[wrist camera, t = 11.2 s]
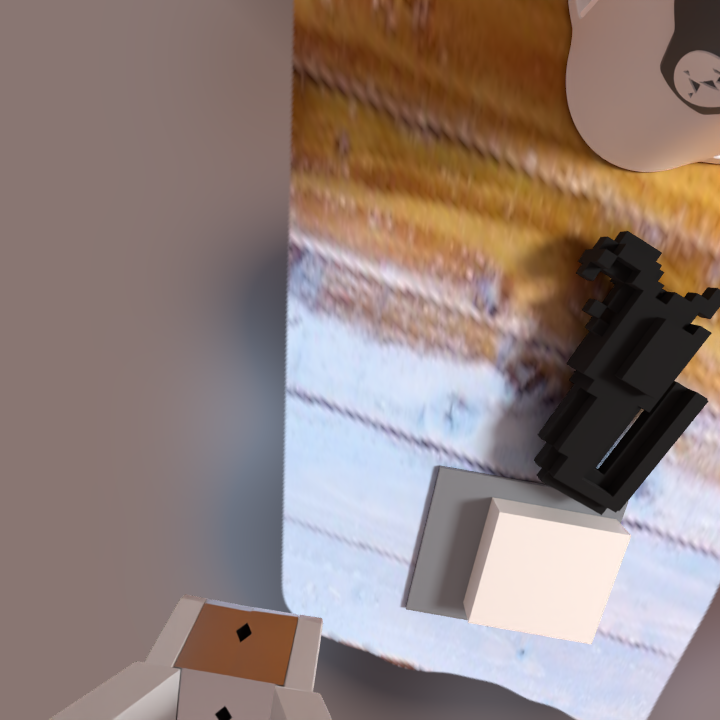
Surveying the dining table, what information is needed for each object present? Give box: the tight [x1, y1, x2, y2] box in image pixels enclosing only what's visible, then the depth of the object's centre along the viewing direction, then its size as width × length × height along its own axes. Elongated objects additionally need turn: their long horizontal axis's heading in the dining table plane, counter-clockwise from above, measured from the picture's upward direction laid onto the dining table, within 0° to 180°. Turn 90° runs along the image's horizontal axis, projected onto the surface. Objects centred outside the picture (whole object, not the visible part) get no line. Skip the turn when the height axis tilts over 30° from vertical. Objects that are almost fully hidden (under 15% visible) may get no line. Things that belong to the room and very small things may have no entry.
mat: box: [406, 466, 628, 620], centre depth 43 cm, size 18×16×1 cm
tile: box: [463, 497, 631, 644], centre depth 42 cm, size 2×12×12 cm
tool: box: [534, 231, 720, 515], centre depth 37 cm, size 5×20×15 cm
